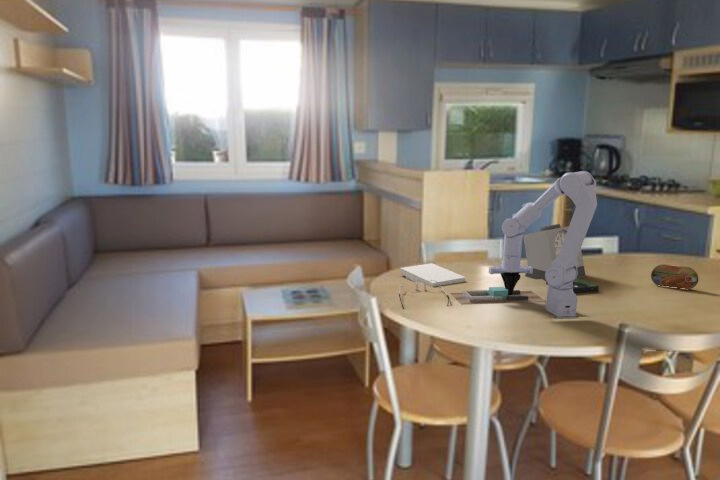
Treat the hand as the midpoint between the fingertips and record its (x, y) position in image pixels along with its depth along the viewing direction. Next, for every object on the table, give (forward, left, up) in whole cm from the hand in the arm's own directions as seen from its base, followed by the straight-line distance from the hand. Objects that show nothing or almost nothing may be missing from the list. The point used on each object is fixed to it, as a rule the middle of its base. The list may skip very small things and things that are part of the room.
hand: (508, 294), depth 188 cm
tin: (+9, -67, -2) cm, 68 cm away
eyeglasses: (+2, +29, -3) cm, 29 cm away
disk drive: (+10, -28, -3) cm, 30 cm away
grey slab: (0, +10, -1) cm, 10 cm away
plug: (0, +4, -1) cm, 4 cm away
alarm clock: (+28, -30, -2) cm, 41 cm away
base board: (0, +4, -2) cm, 4 cm away
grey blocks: (0, -2, -1) cm, 2 cm away
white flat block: (+26, +19, -3) cm, 32 cm away
